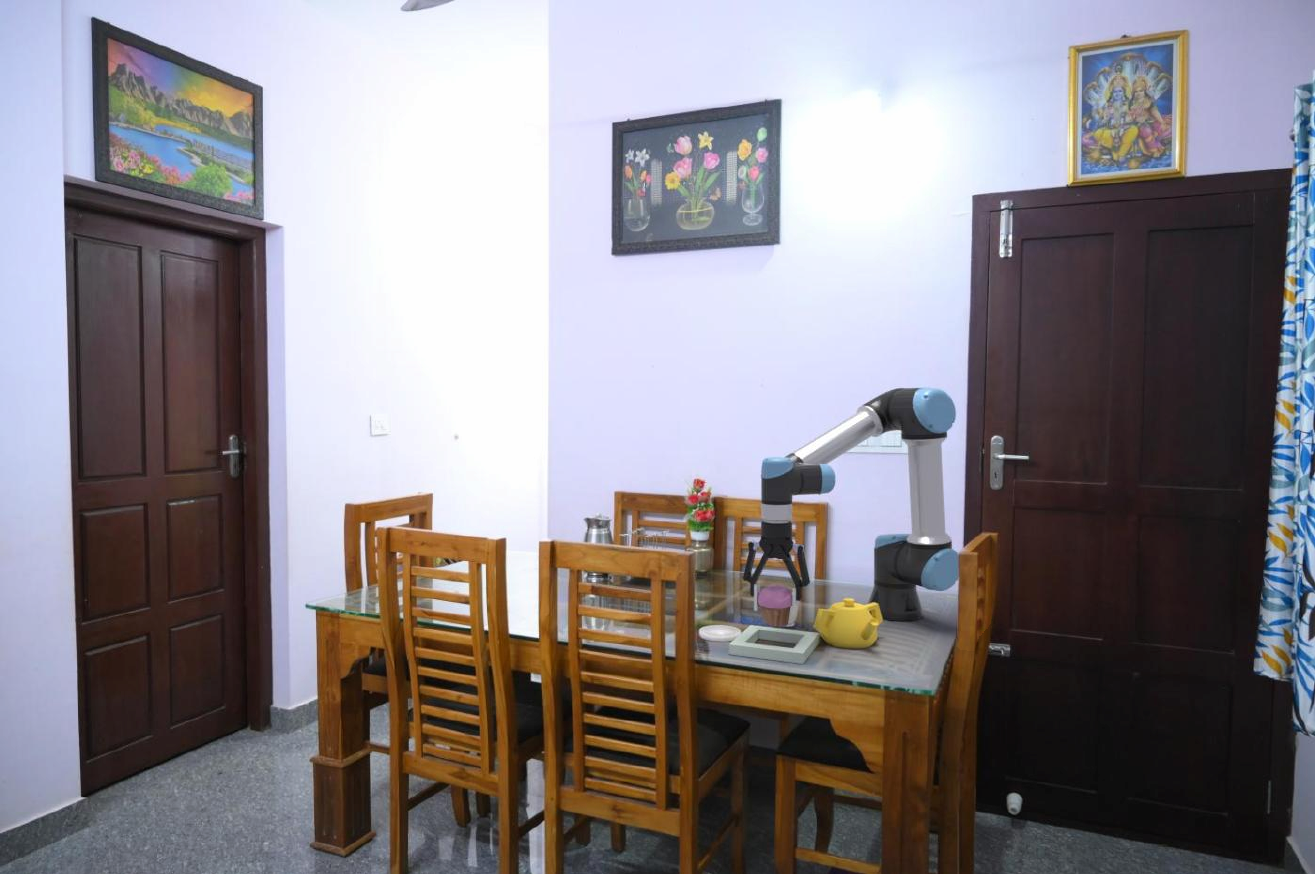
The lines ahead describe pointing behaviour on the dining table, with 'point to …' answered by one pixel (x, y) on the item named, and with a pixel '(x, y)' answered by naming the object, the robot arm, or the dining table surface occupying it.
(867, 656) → the dining table surface
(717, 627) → the plate
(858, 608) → the teapot
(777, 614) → the cupcake
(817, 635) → the frame
